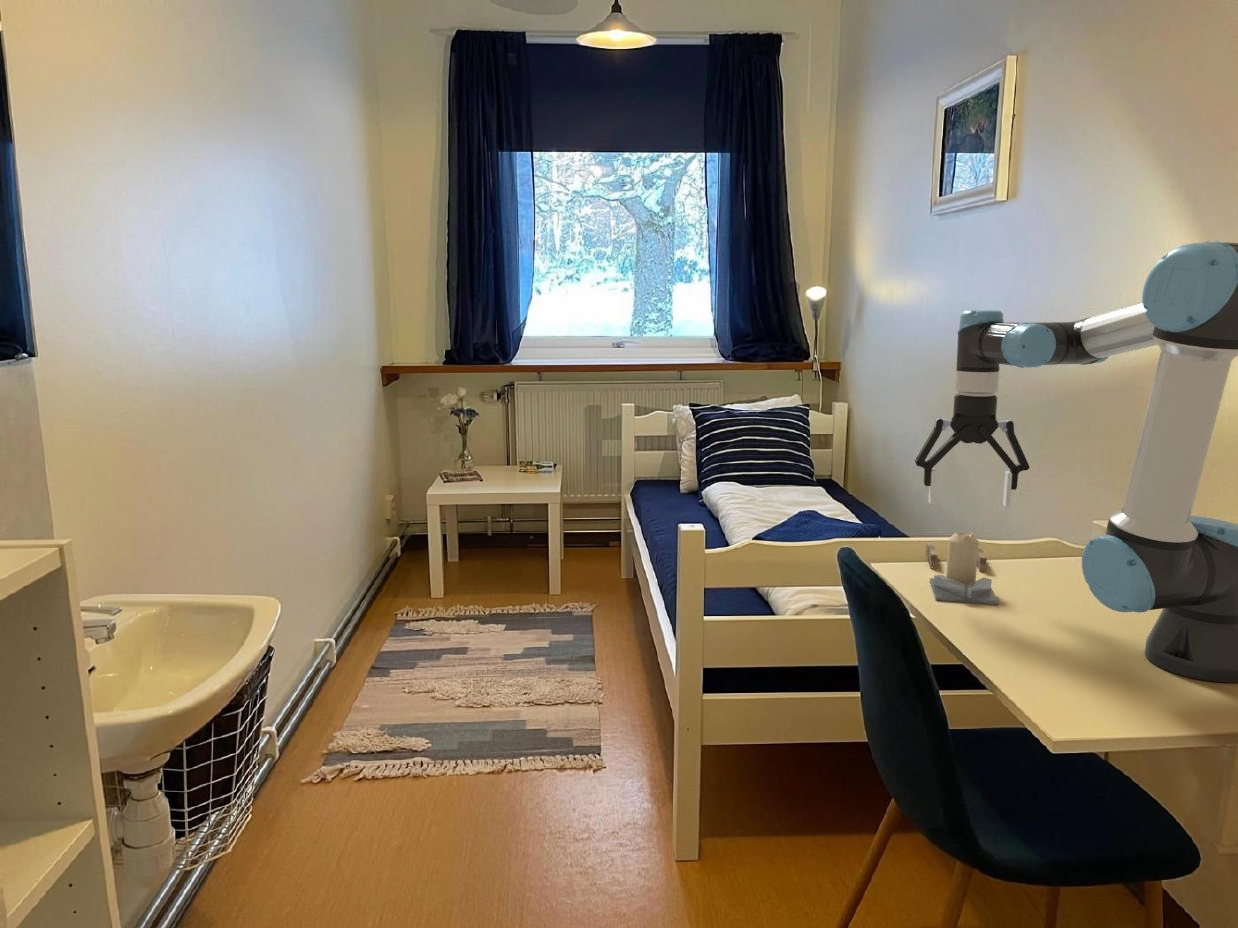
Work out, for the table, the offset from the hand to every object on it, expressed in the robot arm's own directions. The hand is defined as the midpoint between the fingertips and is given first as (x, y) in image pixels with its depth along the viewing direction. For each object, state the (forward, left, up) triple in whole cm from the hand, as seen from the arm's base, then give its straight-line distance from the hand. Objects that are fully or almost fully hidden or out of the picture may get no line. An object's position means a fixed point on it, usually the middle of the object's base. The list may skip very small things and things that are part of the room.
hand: (968, 504), depth 180 cm
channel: (+18, -1, -17) cm, 25 cm away
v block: (-3, 0, -17) cm, 17 cm away
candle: (+2, 0, -16) cm, 17 cm away
